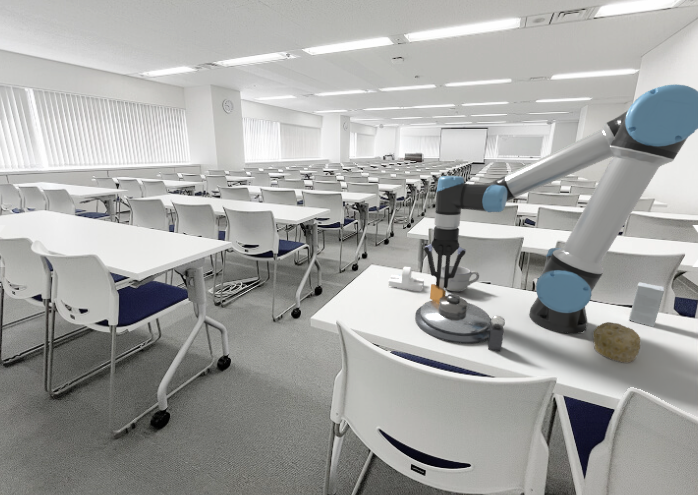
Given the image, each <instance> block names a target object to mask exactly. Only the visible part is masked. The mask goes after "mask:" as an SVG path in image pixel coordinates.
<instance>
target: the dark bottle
mask: <svg viewBox="0 0 698 495" xmlns="http://www.w3.org/2000/svg"><path fill="white" fill-rule="evenodd" d="M491 323H492V324H491V325H490V332H489V339H488V340H487V350H490V351H493V352H494V351H495V352H498V353H499V352H501V350H502V346H503V338H504V335H505V334H504V333H505V332H504V331H505V330H504V326H505V324H506V321H505V319H504V317H503V316H501V315H495V316H493V317H492V318H491Z"/></svg>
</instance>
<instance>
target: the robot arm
mask: <svg viewBox="0 0 698 495" xmlns="http://www.w3.org/2000/svg"><path fill="white" fill-rule="evenodd" d="M697 130H698V90H697V89H695V88H693V87H691V86H689V85H685V84H678V83H677V84H675V83H674V84H667V85H662V86H657V87H655V88H652V89H650V90H648V91H646V92H644V93H643V94H641V95H640V96H639V97H638V98H636V99H635V101H634V102H633V103H631V105H630V107H629V108H628V110H626V111H625V112H624V113H622V114H620V115H619V116H617V117H615V118H613V119H612V120H609V121H607V122H605V123H604V124H603V126H602V128H601V129H600V130H598V131H596V132H593V133H592V134H589V135H587V136H585V137H583V138H581V139H579V140H576V141H574V142H573V143H570V144H569V145H566V146H565V147H562V148H560V149H558V150H556V151H554V152H552V153H550V154H548V155H545V156H543V157H541V158H539V159H537V160H534V161H533V162H530V163H529V164H527V165H525V166H523V167H520V168H518V169H516V170H514V171H512V172H510V173H508V174H506V175H504V176H501V177H500V178H498V179H495V180H493V181H491V182H488V183H484V184H482V183H479V184H478V183H477V184H476V183H465V181H464V180H465V179H464V177H463V176H459V175H458V176H456V175H443V176H440V177H438V180H437V187H436V191H435V192H436V200H435V212H434V227H433V239H432V241H431V243H430V244H428V245H425V246H424V248H423V249H424V252H425V254H426V256H427V261H428V266H429V271H430V276H433V277H435V279H436V280H435V285H437V286H438V287H440V288H442V289H444V290H445V289H446V288H447V287H448V279H449V278H454V276H455V273H456V271H457V268H458V266H459V265H460V263H461V260H462V258H463V257H464V256H465V255H466V251H467V250H466V249H465V248H462V247H461V246H460V243H459V236H460V235H459V234H460V228H459V227H460V223H461V214H462V213H461V212H462V211H461V210H470V211H480V212H487V213H501V212H502V211H504V210H505V207H506V204H507V202H509V201H511V200H514V199H515V198H517V197H521V196H522V195H524V194H527V193H531V192H532V191H534V190H536V189H539V188H542V187H544V186H547V185H549V184H551V183H553V182H556V181H558V180H560V179H563V178H565V177H567V176H569V175H572V174H574V173H576V172H577V173H578V172H579V171H581V170H584V169H586V168H588V167H590V166H594V165H596V164H597V163H600V162H602V161H606V160H608V159H609V158H611V159H610V161H609V163H608V164H607V166H606V168H605V170H604V172H603V173H602V176H601V177H600V179H599V180H598V183H597V185H596V187H595V189H594V190H593V192H592V194H591V196H590V198H589V200H588V201H587V203H586V205H585V206H584V209H583V210H582V211H581V214H580V216H579V218H578V219H577V222H576V223H575V225H574V227H573V229H572V231H571V233H570V234H569V236H568V238H567V240H566V242H565V243H564V245H563V247H552V248H549V249H548V250H547V254H546V255H545V257H546V260H545V263H544V268H543V270H542V271H541V274H540V276H539V277H538V279H537V280H536V282H535V291H536V295H537V297H536V299H535V300H534V302H533V304H532V306H531V307H530V310H529V314H528V315H529V316H528V317H529V318H530V320H531V321H532V322H534V323H535V324H537V325H538V326H540V327H543V328H545V329H548V330H549V331H553V332H556V333H557V332H558V333H562V334H569V335H570V334H571V335H572V334H573V335H575V334H581V333H583V332H585V331H587V327H588V317H587V312H586V306H587V305H588V304H589V303H590V301H591V298H592V295H593V294H592V292H593V290H594V288H595V287H596V285H597V284H598V282H599V280H600V278H601V277H602V276H603V274H604V271H605V269H604V268H603V265H602V262H603V259H604V258H605V256H606V254H608V251H609V250H610V248H611V246H612V245H613V243H614V241H615V240H616V238H617V237H618V235H619V233H620V231H621V230H622V229H623V227H624V225H625V224H626V222H627V220H628V218H629V217H630V215H631V213H632V212H633V211H634V210H635V207H636V206H637V204H638V202H639V201H640V200H641V197H642V196H643V195H644V192H645V191H646V189H647V188H648V186H649V184H650V182H651V181H652V180H653V178H654V176H655V174H656V173H657V172H658V170H659V168H660V167H662V166H664V165H667V164H670V163H672V162H674V161H675V158H676V157H677V155H678V154H679V152H680V151H681V149H682V147H683V146H684V144H685V143H686V141H687V139H688V138H689V137H690V136H691V135H693V134H694V133H695V132H696V131H697ZM433 250H434V251H435V253H436V254H437V266H436V267H435V262H434V256H433V253H432V251H433ZM456 251H457V256H456V259H455V261H454V264H453V265H452V266H453V269H452V272H451V273H449V267H450V266H451V265H450V264H451V256H453V254H454V253H455V252H456ZM443 256H445V265H444V266H445V275H444V277H442V276H441V268H442V267H443V266H442V265H443V264H442V262H443Z"/></svg>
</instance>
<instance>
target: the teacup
mask: <svg viewBox="0 0 698 495" xmlns="http://www.w3.org/2000/svg"><path fill="white" fill-rule="evenodd" d="M453 266H454V265H450V267H449V273H451V272H452V269H453ZM444 275H445V265H444V266H442V267H441V276H442V277H444ZM472 275H476V277H475V278H474V279H472V280H470V278H471V277H472ZM479 279H480V273H479V272H478V271H476V270H472V271H471V270H470V269H469V268H467V267H464V266H458V268H457V271H456V273H455V276H454V278H449V279H448V287H447V288H445V290H446V291H451V292H462V291H464V290H465V289H467V288H468V287H469V286H470V285H471V284H474V283H476V282H477V281H479Z"/></svg>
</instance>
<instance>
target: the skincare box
mask: <svg viewBox="0 0 698 495" xmlns="http://www.w3.org/2000/svg"><path fill="white" fill-rule="evenodd" d="M636 286H637V287H636V291H635V295H634V298H633V302H632V307H631V310H630V314H629V317H628V321H629V320H631V321H630V322H632V321H634V322H633V323H636V322H638V323H637V324H640V323H641V324H640V325H644V324H645V326H649V327H652V328H654V327H655V325H656V320H657V317H658V313H659V311H660V306H661V303H662V300H663V296H664V293H665V287H664V286H661V285H656V284H655V285H654V284H649V283H645V282H640V281H639V282H638V284H637V285H636Z"/></svg>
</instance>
